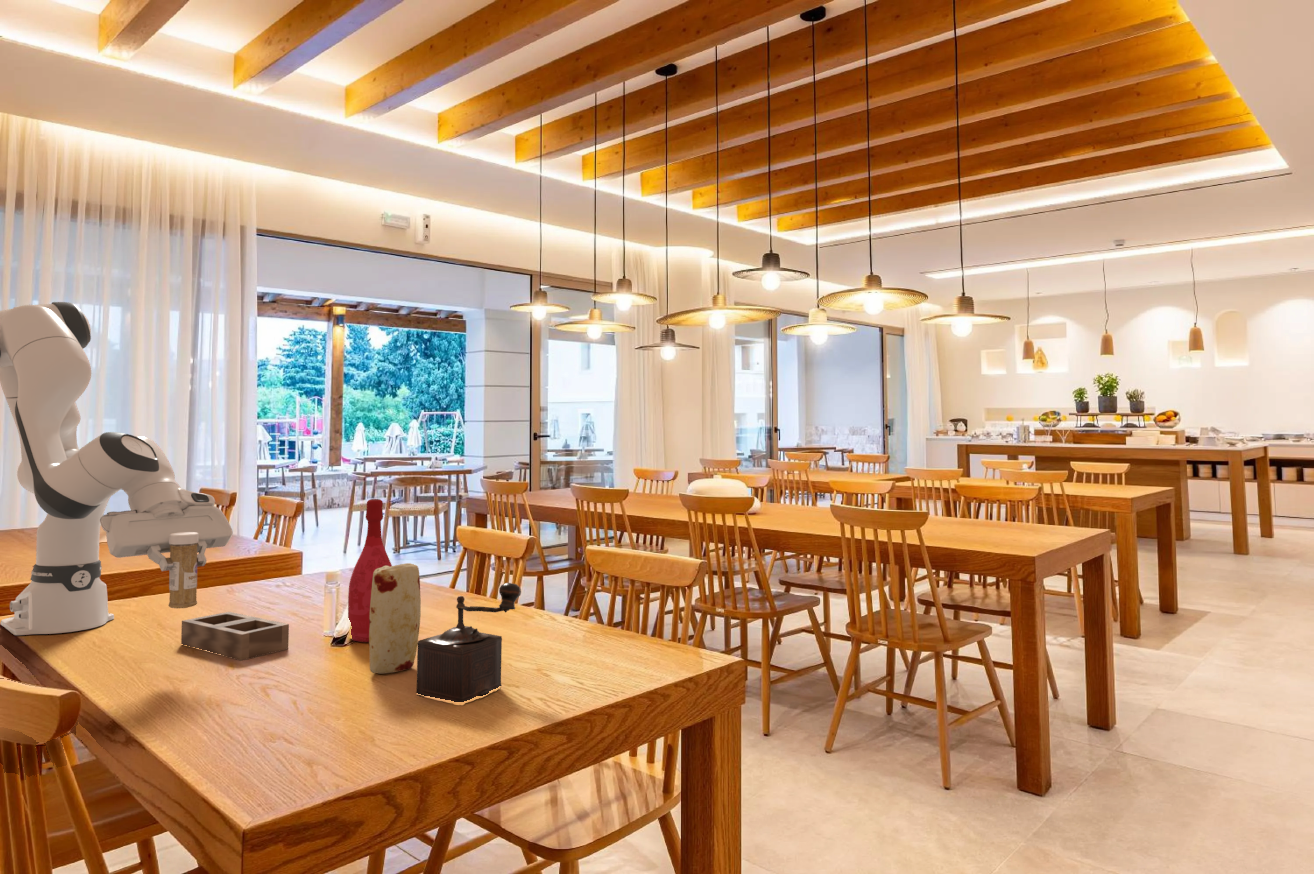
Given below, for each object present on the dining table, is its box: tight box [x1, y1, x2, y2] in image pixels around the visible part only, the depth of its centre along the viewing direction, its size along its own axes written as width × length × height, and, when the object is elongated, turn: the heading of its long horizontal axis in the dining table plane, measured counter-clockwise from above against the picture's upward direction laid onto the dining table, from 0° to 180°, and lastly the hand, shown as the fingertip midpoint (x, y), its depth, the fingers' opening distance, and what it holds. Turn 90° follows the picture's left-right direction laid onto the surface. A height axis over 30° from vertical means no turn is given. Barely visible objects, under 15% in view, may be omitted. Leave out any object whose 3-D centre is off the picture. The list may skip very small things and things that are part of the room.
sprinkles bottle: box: [168, 532, 198, 609], centre depth 141 cm, size 5×5×14 cm
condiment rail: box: [180, 611, 290, 661], centre depth 157 cm, size 20×10×5 cm, turn 61°
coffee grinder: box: [415, 582, 522, 702], centre depth 135 cm, size 16×11×18 cm
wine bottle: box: [347, 498, 393, 643], centre depth 167 cm, size 10×10×30 cm
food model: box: [368, 562, 422, 675], centre depth 144 cm, size 10×7×20 cm
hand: (184, 566), depth 141 cm, fingers closed on sprinkles bottle, 4 cm apart
